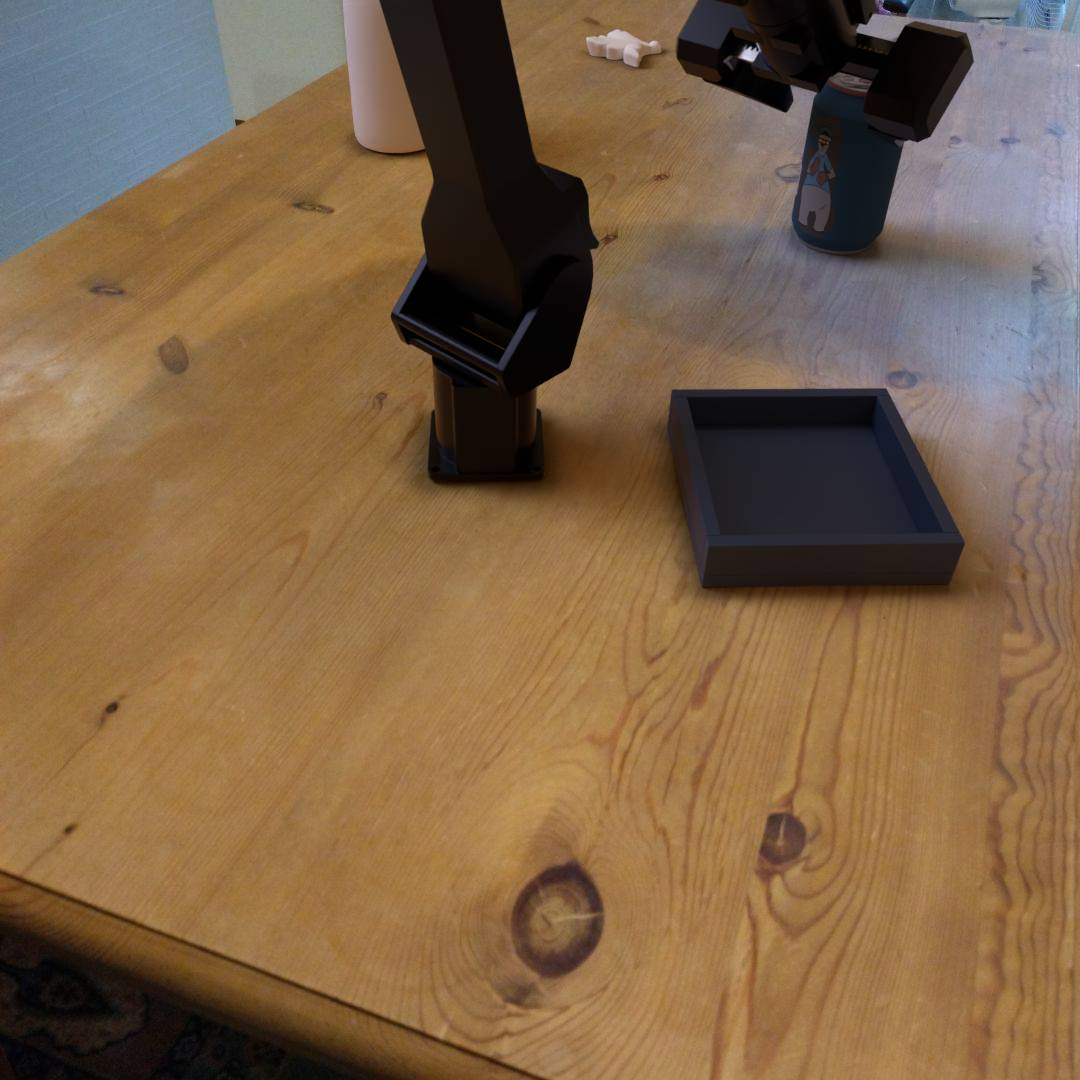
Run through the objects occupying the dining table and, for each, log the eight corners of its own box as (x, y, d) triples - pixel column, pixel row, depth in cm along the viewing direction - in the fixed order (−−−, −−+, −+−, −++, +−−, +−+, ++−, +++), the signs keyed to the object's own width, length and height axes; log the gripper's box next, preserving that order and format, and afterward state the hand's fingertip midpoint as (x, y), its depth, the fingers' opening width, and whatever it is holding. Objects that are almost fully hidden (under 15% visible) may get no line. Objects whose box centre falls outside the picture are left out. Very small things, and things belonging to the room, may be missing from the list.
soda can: (883, 227, 84) (922, 69, 76) (873, 265, 79) (914, 101, 71) (796, 213, 86) (825, 57, 78) (781, 249, 81) (810, 87, 73)
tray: (950, 584, 53) (966, 543, 51) (701, 587, 53) (708, 546, 51) (875, 427, 63) (886, 387, 62) (666, 428, 63) (671, 389, 61)
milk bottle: (452, 149, 94) (442, -110, 81) (367, 160, 92) (343, -105, 79) (426, 119, 100) (413, -128, 87) (346, 129, 98) (320, -124, 84)
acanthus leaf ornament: (638, 69, 112) (639, 50, 111) (579, 58, 114) (580, 40, 113) (665, 49, 117) (667, 31, 116) (609, 39, 119) (610, 21, 118)
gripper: (1010, -123, 56) (1031, 50, 70) (722, -167, 65) (789, -7, 79) (901, 67, 57) (942, 201, 70) (632, -4, 66) (714, 127, 80)
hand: (843, 122), depth 75 cm, fingers open, 9 cm apart
